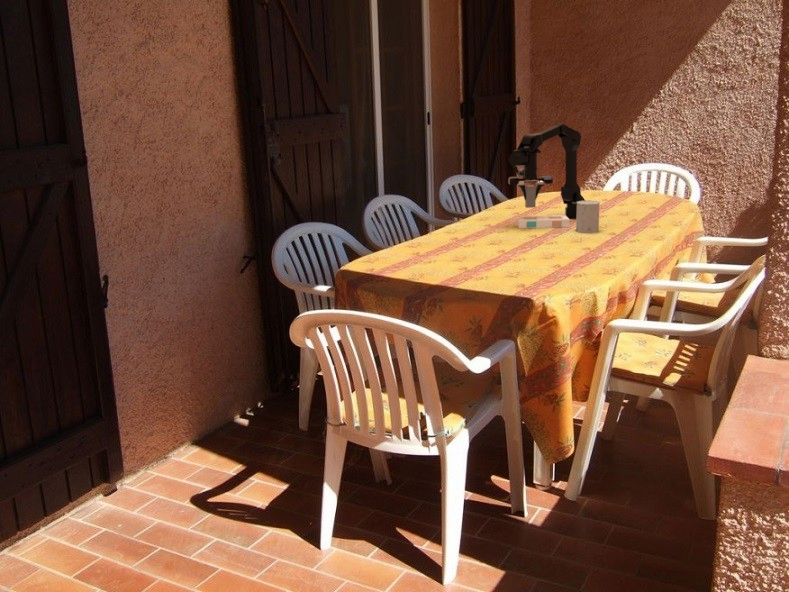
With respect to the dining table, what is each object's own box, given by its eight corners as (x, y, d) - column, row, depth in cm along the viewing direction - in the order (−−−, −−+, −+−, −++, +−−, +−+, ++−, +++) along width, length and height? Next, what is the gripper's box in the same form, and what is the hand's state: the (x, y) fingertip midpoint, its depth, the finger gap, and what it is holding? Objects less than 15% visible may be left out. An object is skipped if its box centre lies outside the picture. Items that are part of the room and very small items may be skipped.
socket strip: (565, 222, 393) (565, 215, 392) (569, 227, 383) (569, 219, 382) (515, 224, 393) (516, 216, 393) (518, 228, 383) (519, 220, 382)
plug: (534, 205, 388) (534, 184, 386) (535, 207, 384) (535, 185, 382) (525, 206, 388) (525, 184, 386) (526, 207, 384) (526, 185, 382)
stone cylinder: (573, 232, 373) (573, 203, 370) (579, 228, 381) (580, 200, 378) (595, 233, 368) (596, 204, 365) (601, 229, 377) (602, 201, 373)
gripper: (549, 161, 389) (548, 196, 393) (506, 162, 389) (506, 197, 393) (553, 164, 378) (552, 200, 382) (509, 165, 379) (509, 201, 383)
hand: (530, 199), depth 385 cm, fingers closed on plug, 4 cm apart
